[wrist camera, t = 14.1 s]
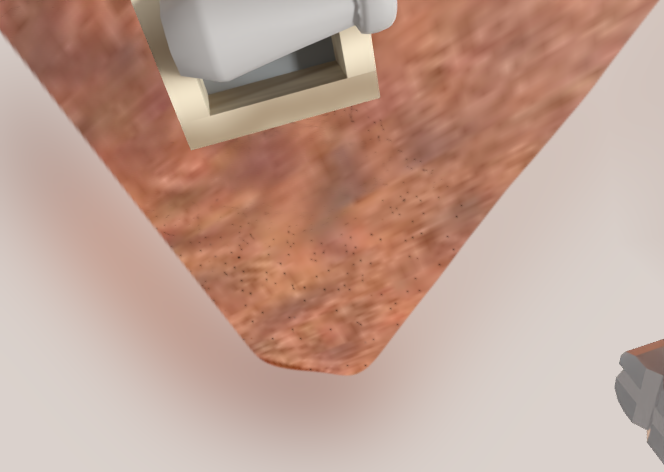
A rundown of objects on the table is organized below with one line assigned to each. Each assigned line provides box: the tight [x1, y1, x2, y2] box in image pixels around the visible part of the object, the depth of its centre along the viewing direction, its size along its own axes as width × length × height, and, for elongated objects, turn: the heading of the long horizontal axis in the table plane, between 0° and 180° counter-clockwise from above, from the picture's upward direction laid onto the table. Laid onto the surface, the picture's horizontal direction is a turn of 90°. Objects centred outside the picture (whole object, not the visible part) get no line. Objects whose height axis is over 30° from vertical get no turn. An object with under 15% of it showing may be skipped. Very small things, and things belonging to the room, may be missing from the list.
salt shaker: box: [159, 0, 397, 82], centre depth 32 cm, size 6×6×13 cm
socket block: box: [131, 0, 380, 150], centre depth 35 cm, size 14×14×4 cm
